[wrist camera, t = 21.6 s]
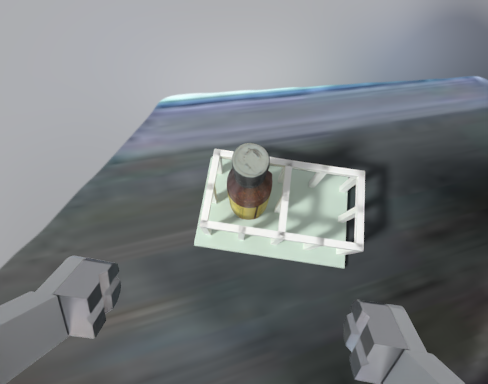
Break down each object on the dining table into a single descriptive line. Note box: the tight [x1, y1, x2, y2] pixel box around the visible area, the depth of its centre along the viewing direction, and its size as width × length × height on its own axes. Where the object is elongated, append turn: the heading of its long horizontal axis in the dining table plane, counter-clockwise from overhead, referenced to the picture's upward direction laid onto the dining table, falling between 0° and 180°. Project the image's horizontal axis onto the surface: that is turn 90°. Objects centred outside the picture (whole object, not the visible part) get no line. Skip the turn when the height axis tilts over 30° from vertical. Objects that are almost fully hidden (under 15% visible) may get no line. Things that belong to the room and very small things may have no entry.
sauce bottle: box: [227, 143, 273, 220], centre depth 39 cm, size 6×6×20 cm
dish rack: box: [194, 149, 365, 268], centre depth 45 cm, size 25×16×9 cm, turn 82°
